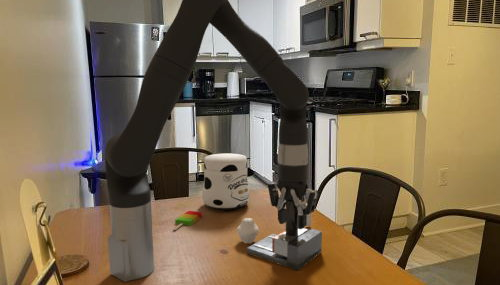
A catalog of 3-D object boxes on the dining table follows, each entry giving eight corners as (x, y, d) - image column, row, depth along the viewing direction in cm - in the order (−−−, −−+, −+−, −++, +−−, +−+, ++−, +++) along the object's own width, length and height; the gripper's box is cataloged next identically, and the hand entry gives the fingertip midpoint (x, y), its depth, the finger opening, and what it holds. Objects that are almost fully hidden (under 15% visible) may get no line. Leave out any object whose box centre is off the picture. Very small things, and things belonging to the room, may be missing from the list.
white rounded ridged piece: (246, 235, 113) (246, 212, 111) (263, 240, 109) (263, 217, 108) (232, 242, 108) (232, 218, 107) (249, 248, 104) (249, 223, 103)
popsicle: (202, 217, 129) (202, 211, 129) (182, 234, 115) (181, 228, 115) (188, 215, 131) (188, 210, 130) (165, 232, 117) (165, 226, 116)
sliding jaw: (287, 257, 94) (288, 206, 92) (272, 252, 97) (272, 202, 95) (307, 243, 102) (308, 196, 100) (293, 239, 105) (293, 193, 102)
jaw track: (297, 270, 91) (298, 247, 90) (247, 253, 101) (247, 231, 100) (321, 253, 101) (321, 231, 100) (273, 238, 110) (273, 218, 109)
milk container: (249, 213, 131) (249, 162, 128) (199, 213, 131) (197, 162, 128) (250, 198, 148) (250, 152, 145) (205, 198, 148) (204, 152, 145)
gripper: (260, 159, 97) (260, 223, 100) (310, 167, 88) (309, 237, 91) (277, 155, 103) (276, 215, 105) (325, 162, 94) (323, 227, 97)
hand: (291, 225), depth 98 cm, fingers open, 5 cm apart
